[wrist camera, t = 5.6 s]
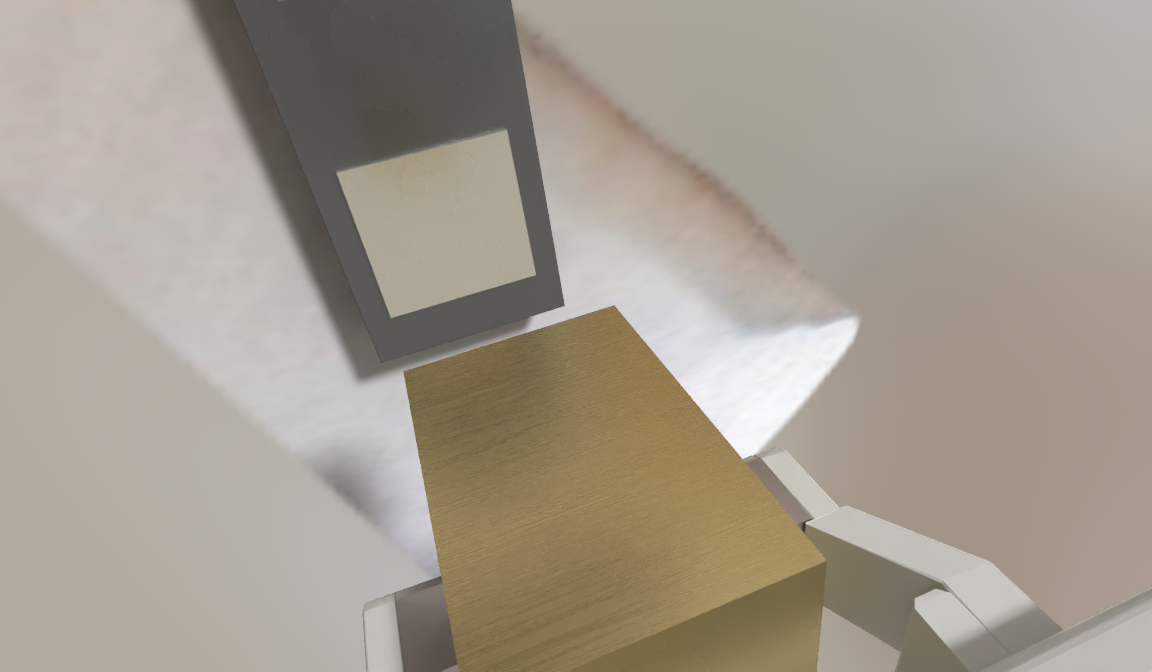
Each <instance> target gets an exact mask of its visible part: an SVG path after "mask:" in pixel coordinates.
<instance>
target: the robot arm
mask: <svg viewBox="0 0 1152 672" xmlns="http://www.w3.org/2000/svg"><path fill="white" fill-rule="evenodd" d="M743 460H744V462H745V463H746V464H747V465H748V466H749V468H750V469H751V470H752V471H753V472H754V474H755V475H756V476H757V477H758V478H759V480H760V481H761V482H762V483H763V484H764V486H765V487H766V488H767V489H768V490H769V492H770V493H771V494H772V495H773V496H774V498H775V499H776V500H777V501H778V502H779V504H780V505H781V506H782V507H783V508H784V510H785V511H786V512H787V513H788V514H789V516H790V517H791V518H792V519H793V520H794V522H795V523H796V524H797V525H798V526H799V528H800V529H801V530H802V531H803V532H804V534H805V535H806V536H807V537H808V538H809V540H810V541H811V542H812V543H813V544H814V546H815V547H816V548H817V549H818V550H819V552H820V553H821V554H822V555H823V556H824V558H825V559H826V560H827V567H826V578H825V588H824V599H823V606H825V607H826V608H828V609H830V610H832V611H833V612H835V613H836V614H838V615H840V616H841V617H843V618H845V619H847V620H848V621H850V622H852V623H853V624H855V625H857V626H858V627H860V628H862V629H863V630H865V631H867V632H868V633H870V634H872V635H873V636H875V637H877V638H878V639H880V640H882V641H883V642H885V643H887V644H888V645H890V646H892V647H894V648H895V649H897V650H899V651H900V654H899V658H898V661H897V665H896V669H895V672H1152V586H1150V587H1148V588H1146V589H1144V590H1142V591H1140V592H1138V593H1136V594H1134V595H1132V596H1130V597H1128V598H1126V599H1124V600H1122V601H1120V602H1118V603H1116V604H1114V605H1112V606H1110V607H1108V608H1106V609H1104V610H1102V611H1100V612H1097V613H1096V614H1093V615H1091V616H1090V617H1087V618H1085V619H1083V620H1081V621H1079V622H1077V623H1075V624H1073V625H1071V626H1069V627H1067V628H1066V629H1062V628H1061V627H1060V626H1059V625H1058V624H1056V623H1055V622H1054V621H1053V620H1052V619H1051V618H1050V617H1049V616H1048V615H1047V614H1046V613H1044V611H1043V610H1041V609H1040V608H1039V607H1038V606H1037V605H1036V604H1035V603H1034V602H1033V601H1032V600H1030V598H1029V597H1027V596H1026V595H1025V594H1024V593H1023V592H1022V591H1021V590H1020V589H1019V588H1018V587H1017V586H1016V585H1015V584H1014V583H1012V582H1011V581H1010V580H1009V579H1008V578H1007V577H1006V576H1005V575H1004V574H1003V573H1002V572H1001V571H1000V570H999V569H997V568H996V567H995V566H994V565H993V564H992V563H991V562H989V561H987V560H984V559H982V558H979V557H977V556H974V555H971V554H969V553H966V552H964V551H961V550H959V549H956V548H953V547H951V546H949V545H946V544H943V543H941V542H938V541H936V540H933V539H931V538H928V537H926V536H923V535H921V534H918V533H915V532H913V531H910V530H908V529H905V528H903V527H900V526H898V525H895V524H892V523H890V522H887V521H885V520H882V519H880V518H877V517H875V516H872V515H869V514H867V513H865V512H862V511H859V510H857V509H854V508H852V507H849V506H844V507H842V508H839V507H838V506H837V505H836V504H835V503H834V502H833V500H832V499H831V498H830V497H829V496H828V495H827V494H826V493H825V492H824V491H823V490H822V489H821V488H820V486H818V484H817V483H816V482H815V481H814V480H813V479H812V478H811V477H810V476H809V475H808V474H807V473H806V471H805V470H804V469H803V468H802V467H801V466H800V465H799V464H798V463H797V462H796V461H795V459H793V458H792V456H791V455H790V454H789V453H788V452H787V451H786V450H785V449H784V448H782V447H780V446H777V447H774V448H772V449H769V450H766V451H764V452H761V453H759V454H756V455H754V456H749V457H747V458H744V459H743ZM363 626H364V641H365V655H366V670H367V672H459V670H458V664H457V659H456V653H455V648H454V643H453V637H452V632H451V626H450V621H449V615H448V610H447V605H446V599H445V594H444V588H443V583H442V577H441V576H440V577H437V578H434V579H432V580H429V581H426V582H423V583H421V584H418V585H415V586H412V587H409V588H406V589H403V590H401V591H398V592H395V593H392V594H390V595H387V596H384V597H382V598H379V599H376V600H374V601H371V602H368V603H366V604H365V605H364V611H363Z"/></svg>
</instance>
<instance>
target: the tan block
mask: <svg viewBox="0 0 1152 672" xmlns="http://www.w3.org/2000/svg"><path fill="white" fill-rule="evenodd" d="M404 377H405V382H406V388H407V393H408V399H409V404H410V409H411V415H412V420H413V426H414V431H415V437H416V442H417V447H418V453H419V458H420V464H421V469H422V474H423V480H424V485H425V491H426V496H427V502H428V507H429V512H430V518H431V523H432V529H433V534H434V540H435V545H436V550H437V556H438V561H439V567H440V572H441V577H442V583H443V588H444V594H445V599H446V605H447V610H448V615H449V621H450V626H451V632H452V637H453V643H454V648H455V653H456V659H457V664H458V670H459V672H817V662H818V651H819V641H820V630H821V620H822V609H823V599H824V588H825V578H826V567H827V560H826V559H825V558H824V556H823V555H822V554H821V553H820V552H819V550H818V549H817V548H816V547H815V546H814V544H813V543H812V542H811V541H810V540H809V538H808V537H807V536H806V535H805V534H804V532H803V531H802V530H801V529H800V528H799V526H798V525H797V524H796V523H795V522H794V520H793V519H792V518H791V517H790V516H789V514H788V513H787V512H786V511H785V510H784V508H783V507H782V506H781V505H780V504H779V502H778V501H777V500H776V499H775V498H774V496H773V495H772V494H771V493H770V492H769V490H768V489H767V488H766V487H765V486H764V484H763V483H762V482H761V481H760V480H759V478H758V477H757V476H756V475H755V474H754V472H753V471H752V470H751V469H750V468H749V466H748V465H747V464H746V463H745V462H744V460H743V459H742V458H741V457H740V456H739V454H738V453H737V452H736V451H735V450H734V448H733V447H732V446H731V445H730V444H729V442H728V441H727V440H726V439H725V438H724V436H723V435H722V434H721V433H720V432H719V430H718V429H717V428H716V427H715V426H714V424H713V423H712V422H711V421H710V420H709V418H708V417H707V416H706V415H705V414H704V412H703V411H702V410H701V409H700V408H699V407H698V405H697V404H696V403H695V402H694V401H693V399H692V398H691V397H690V396H689V395H688V393H687V392H686V391H685V390H684V389H683V387H682V386H681V385H680V384H679V383H678V381H677V380H676V379H675V378H674V377H673V375H672V374H671V373H670V372H669V371H668V369H667V368H666V367H665V366H664V365H663V363H662V362H661V361H660V360H659V359H658V357H657V356H656V355H655V354H654V353H653V351H652V350H651V349H650V348H649V347H648V345H647V344H646V343H645V342H644V341H643V339H642V338H641V337H640V336H639V335H638V333H637V332H636V331H635V330H634V329H633V327H632V326H631V325H630V324H629V323H628V321H627V320H626V319H625V318H624V317H623V315H622V314H621V313H620V312H619V311H618V309H617V308H616V307H615V306H611V307H608V308H604V309H601V310H598V311H595V312H592V313H588V314H585V315H582V316H579V317H576V318H573V319H569V320H566V321H563V322H560V323H557V324H553V325H550V326H547V327H544V328H541V329H538V330H534V331H531V332H528V333H525V334H522V335H518V336H515V337H512V338H509V339H506V340H503V341H499V342H496V343H493V344H490V345H487V346H484V347H480V348H477V349H474V350H471V351H468V352H464V353H461V354H458V355H455V356H452V357H449V358H445V359H442V360H439V361H436V362H433V363H429V364H426V365H423V366H420V367H417V368H414V369H410V370H407V371H404Z"/></svg>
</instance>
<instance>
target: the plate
mask: <svg viewBox="0 0 1152 672" xmlns="http://www.w3.org/2000/svg"><path fill="white" fill-rule="evenodd" d="M234 2H235V5H236V7H237V10H238V12H239V15H240V17H241V20H242V22H243V25H244V27H245V30H246V32H247V34H248V37H249V39H250V42H251V44H252V47H253V49H254V52H255V54H256V57H257V59H258V61H259V64H260V66H261V69H262V71H263V74H264V76H265V79H266V81H267V84H268V86H269V88H270V91H271V93H272V96H273V98H274V101H275V103H276V106H277V108H278V111H279V113H280V115H281V118H282V120H283V123H284V125H285V128H286V130H287V133H288V135H289V138H290V140H291V142H292V145H293V147H294V150H295V152H296V155H297V157H298V160H299V162H300V165H301V167H302V169H303V172H304V174H305V177H306V179H307V182H308V184H309V187H310V189H311V192H312V194H313V196H314V199H315V201H316V204H317V206H318V209H319V211H320V214H321V216H322V219H323V221H324V223H325V226H326V228H327V231H328V233H329V236H330V238H331V241H332V243H333V246H334V248H335V250H336V253H337V255H338V258H339V260H340V263H341V265H342V268H343V270H344V273H345V275H346V278H347V280H348V282H349V285H350V287H351V290H352V292H353V295H354V297H355V300H356V302H357V305H358V307H359V309H360V312H361V314H362V317H363V319H364V322H365V324H366V327H367V329H368V332H369V334H370V336H371V339H372V341H373V344H374V346H375V349H376V351H377V354H378V356H379V359H380V361H381V363H382V362H385V361H389V360H392V359H395V358H398V357H401V356H405V355H408V354H411V353H414V352H418V351H421V350H424V349H427V348H430V347H434V346H437V345H440V344H443V343H446V342H450V341H453V340H456V339H459V338H463V337H466V336H469V335H472V334H475V333H479V332H482V331H485V330H488V329H492V328H495V327H498V326H501V325H504V324H508V323H511V322H514V321H517V320H521V319H524V318H527V317H530V316H533V315H537V314H540V313H543V312H546V311H550V310H553V309H556V308H559V307H562V306H565V305H564V300H563V294H562V288H561V283H560V277H559V271H558V265H557V260H556V254H555V248H554V243H553V237H552V231H551V226H550V220H549V214H548V209H547V203H546V197H545V191H544V186H543V180H542V174H541V169H540V163H539V157H538V152H537V146H536V140H535V135H534V129H533V123H532V118H531V112H530V106H529V100H528V95H527V89H526V83H525V78H524V72H523V66H522V61H521V55H520V49H519V44H518V38H517V32H516V26H515V21H514V15H513V9H512V4H511V0H234Z"/></svg>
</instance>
